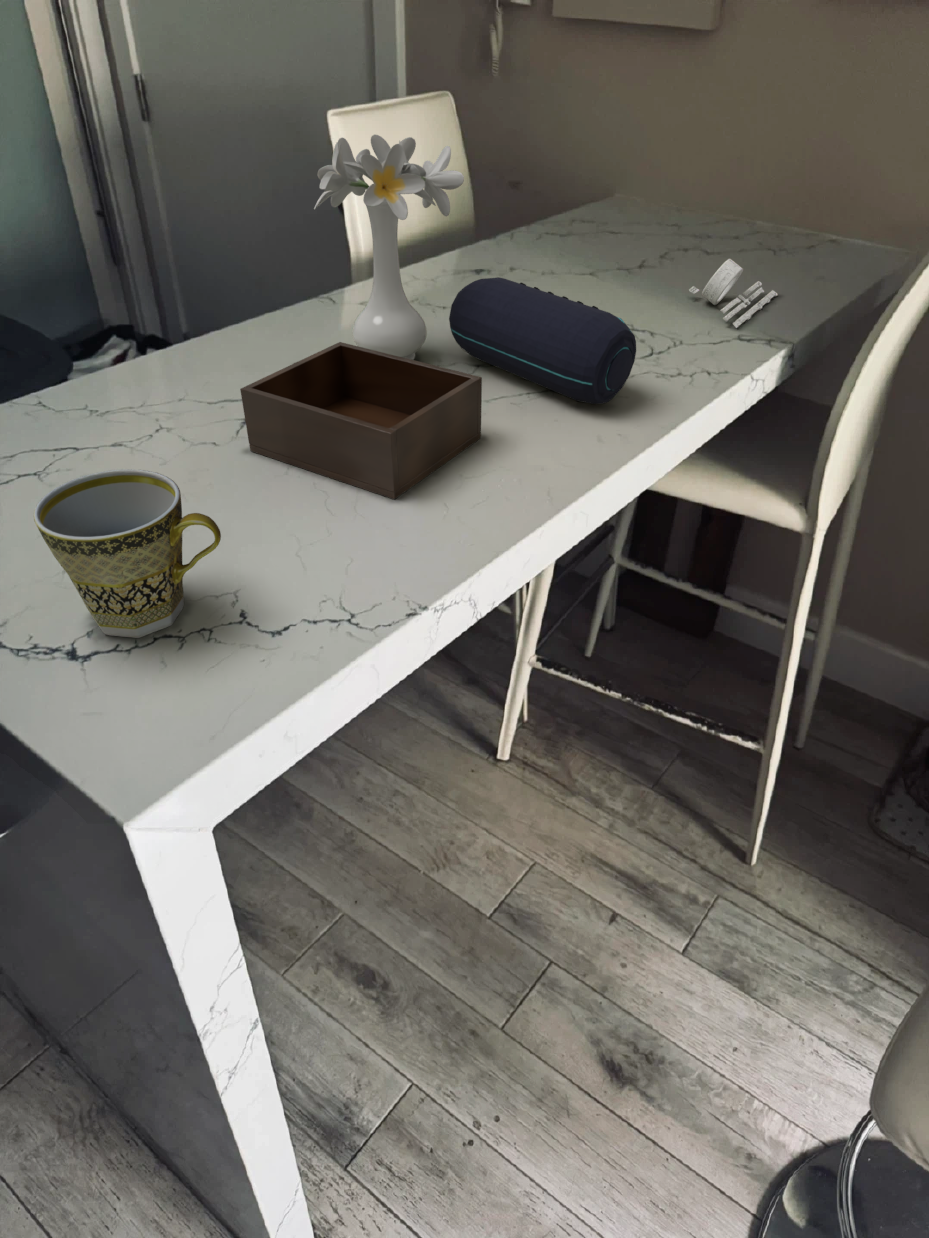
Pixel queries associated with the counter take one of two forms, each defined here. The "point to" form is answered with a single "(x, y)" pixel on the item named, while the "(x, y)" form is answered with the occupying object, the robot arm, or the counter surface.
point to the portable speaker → (544, 338)
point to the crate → (364, 417)
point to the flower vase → (388, 231)
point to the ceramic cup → (122, 546)
